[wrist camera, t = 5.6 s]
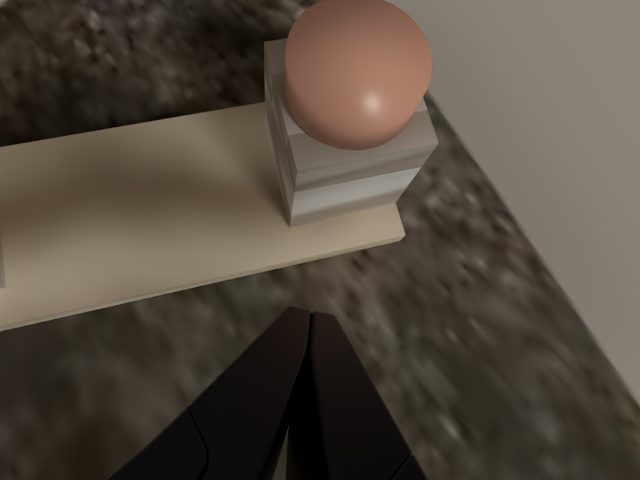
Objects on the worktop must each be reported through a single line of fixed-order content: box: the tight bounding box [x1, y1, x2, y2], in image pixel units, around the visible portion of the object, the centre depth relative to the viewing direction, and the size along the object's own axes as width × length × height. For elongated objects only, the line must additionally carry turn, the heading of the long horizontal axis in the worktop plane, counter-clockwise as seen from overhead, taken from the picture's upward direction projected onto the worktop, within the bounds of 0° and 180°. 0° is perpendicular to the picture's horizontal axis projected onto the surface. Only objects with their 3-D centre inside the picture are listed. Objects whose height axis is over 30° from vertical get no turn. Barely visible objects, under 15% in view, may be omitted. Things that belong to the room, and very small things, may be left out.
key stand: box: [0, 38, 438, 331], centre depth 19 cm, size 8×22×8 cm, turn 104°
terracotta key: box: [284, 0, 433, 150], centre depth 17 cm, size 5×5×3 cm
